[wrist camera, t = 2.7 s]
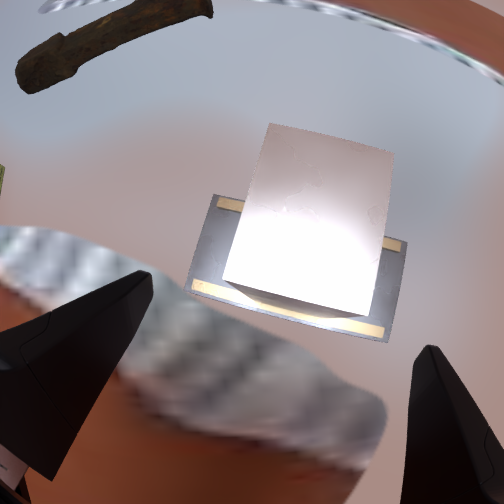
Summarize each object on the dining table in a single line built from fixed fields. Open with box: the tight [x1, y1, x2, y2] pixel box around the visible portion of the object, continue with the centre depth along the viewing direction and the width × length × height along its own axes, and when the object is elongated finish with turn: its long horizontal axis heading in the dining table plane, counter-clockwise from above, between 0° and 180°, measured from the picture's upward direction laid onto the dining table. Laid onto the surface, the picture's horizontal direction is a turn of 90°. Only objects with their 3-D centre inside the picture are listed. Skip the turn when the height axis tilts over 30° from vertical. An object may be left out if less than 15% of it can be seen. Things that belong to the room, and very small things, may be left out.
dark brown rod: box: [15, 0, 214, 94], centre depth 24 cm, size 23×5×6 cm, turn 106°
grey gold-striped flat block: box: [184, 194, 407, 343], centre depth 19 cm, size 12×6×2 cm, turn 75°
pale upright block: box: [223, 123, 394, 319], centre depth 13 cm, size 4×5×9 cm
